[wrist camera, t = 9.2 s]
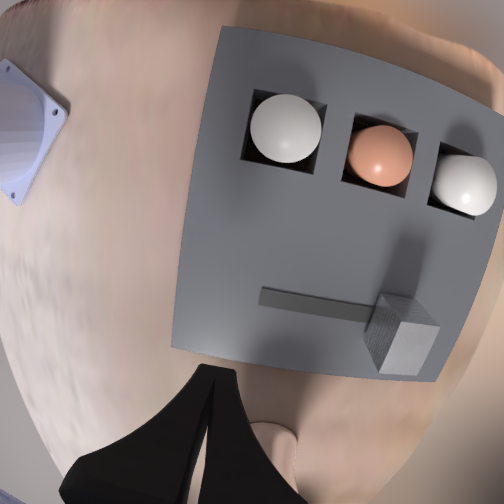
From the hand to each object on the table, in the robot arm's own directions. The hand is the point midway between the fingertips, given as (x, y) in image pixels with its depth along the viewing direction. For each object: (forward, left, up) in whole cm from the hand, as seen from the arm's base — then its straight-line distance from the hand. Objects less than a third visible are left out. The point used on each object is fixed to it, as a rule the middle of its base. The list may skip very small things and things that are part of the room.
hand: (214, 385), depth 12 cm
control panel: (+2, +8, -9) cm, 12 cm away
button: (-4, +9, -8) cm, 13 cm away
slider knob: (+7, +6, -6) cm, 11 cm away
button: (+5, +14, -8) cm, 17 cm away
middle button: (0, +11, -9) cm, 15 cm away
